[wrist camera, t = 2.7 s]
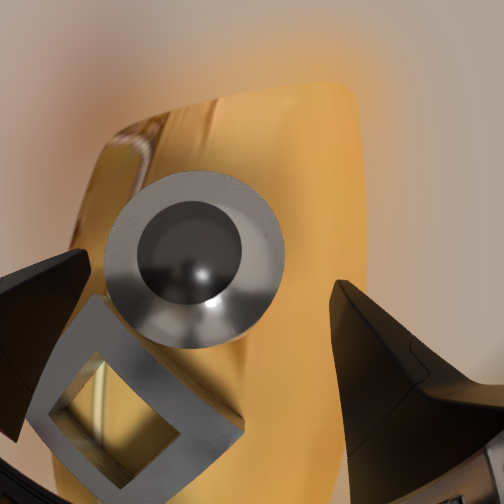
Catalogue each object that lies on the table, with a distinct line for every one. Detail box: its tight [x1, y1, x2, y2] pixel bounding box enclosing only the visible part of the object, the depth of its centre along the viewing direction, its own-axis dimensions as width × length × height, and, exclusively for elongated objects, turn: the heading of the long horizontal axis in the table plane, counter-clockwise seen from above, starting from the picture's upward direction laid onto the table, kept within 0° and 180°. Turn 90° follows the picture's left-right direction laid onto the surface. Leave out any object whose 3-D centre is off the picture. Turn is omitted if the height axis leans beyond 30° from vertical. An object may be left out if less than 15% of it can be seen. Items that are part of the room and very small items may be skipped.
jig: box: [25, 293, 245, 504], centre depth 14 cm, size 12×12×2 cm
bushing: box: [104, 171, 285, 349], centre depth 12 cm, size 5×5×11 cm
